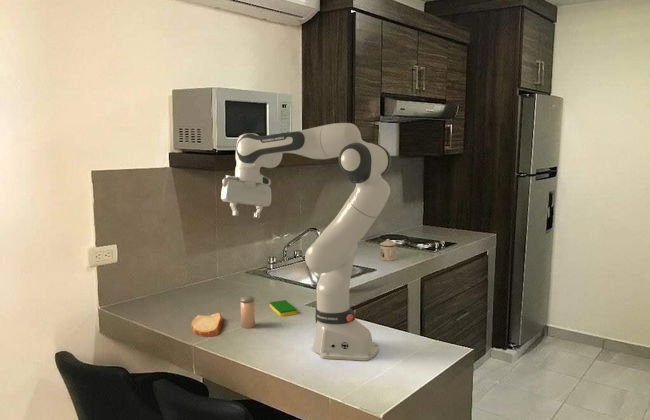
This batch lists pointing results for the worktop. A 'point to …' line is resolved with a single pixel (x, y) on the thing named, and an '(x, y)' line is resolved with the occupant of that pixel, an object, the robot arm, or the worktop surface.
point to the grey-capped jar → (247, 312)
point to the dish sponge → (283, 308)
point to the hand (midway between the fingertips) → (246, 216)
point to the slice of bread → (207, 325)
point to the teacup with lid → (387, 250)
